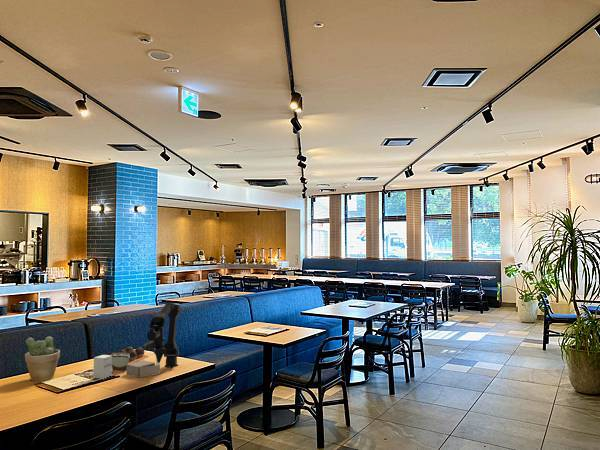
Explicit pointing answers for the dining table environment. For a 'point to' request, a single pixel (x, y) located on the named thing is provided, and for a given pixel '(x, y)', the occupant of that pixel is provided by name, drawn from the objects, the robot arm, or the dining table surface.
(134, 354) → the tray of pastries
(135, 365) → the carton
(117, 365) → the food container
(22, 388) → the dining table surface
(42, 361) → the potted plant
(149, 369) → the end flap
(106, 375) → the supplement box
